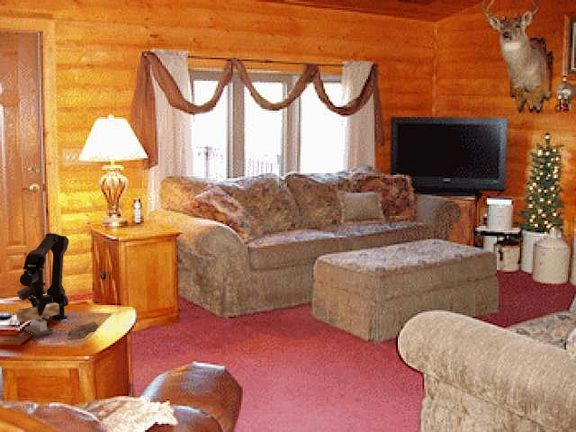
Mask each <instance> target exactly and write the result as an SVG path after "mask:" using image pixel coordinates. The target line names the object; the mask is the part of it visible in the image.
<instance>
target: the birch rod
mask: <svg viewBox="0 0 576 432" xmlns="http://www.w3.org/2000/svg"><path fill="white" fill-rule="evenodd" d="M15 312H16V320H17V322H19V323H23V322H28V321H30V320H33V319H38V318H42V319H43V318H47V317H48V318H49V316H53V315H58V314H59V304H57V303H51V304H47V305H46V307H45V309H44V311H43V313H42V315H41V316H39V314H38V308H37V306H35V307H32V306H30V307H25V308H20V309H17V310H15Z"/></svg>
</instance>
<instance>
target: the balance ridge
mask: <svg viewBox="0 0 576 432" xmlns="http://www.w3.org/2000/svg"><path fill="white" fill-rule="evenodd" d="M29 321H30V325H28V326H24V327H25V329H24V331H25V330H26V331H25V332H27V331H28V332H30V333H32V334H33V335H32V334H31V335H32V336H34V337H35V338H37V337H42V336H47V335H52V334H54V329H52V328H51V327H49V326H47V323H48V321H47V320H46V319H45V318H44V319H43V318H38V319H33V320H29ZM28 332H27V333H28ZM30 333H29V334H30Z"/></svg>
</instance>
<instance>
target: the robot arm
mask: <svg viewBox="0 0 576 432" xmlns="http://www.w3.org/2000/svg"><path fill="white" fill-rule="evenodd" d="M69 243H70V241H69V238H68V237H67V236H66V235H61V234H59V233H53V232H52V233H51V232H48V233H46V234H45V235H44V238H43V239H42V241H41V242H40V243H39V245H38V246H37V247H36V248H35V249H32V250H30V251H29V252H28V254H27V255H26V257H25V260H24V264H23V268H22V270H23V274H21V275H20V277H19V282H20V284H21V286H23V287H24V288H22V289H20V290H18V291H17V292H16V294H17V297H18V298H19V300H21V301H26V300H27V301H29V302H30V304H31V307H35V306H37V308H38V314H39V316H41V315H42V313H43V311H44V309H45V307H46V305H47V304H51V303H57V304H59V314H58V315H53V316H48V318H50V319H52V320H54V321H57V320H63V319H66V318H68V315H66V314H65V313H66V312H65V307H67V306H68V305H69V298H68V296H67V295H66V289H65V288H64V286H63V274H64V272H63V270H64V254H65V253H66V252H67V251H68V246H69ZM49 251H51V252H50V253H52V266H51V282H50V283H51V284H50V286H49V287H47V289H46V291H45V286H46V282H44V269H45V263H46V261H47V257H46V256H47V254H48V253H49Z"/></svg>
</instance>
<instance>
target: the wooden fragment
mask: <svg viewBox="0 0 576 432" xmlns="http://www.w3.org/2000/svg"><path fill="white" fill-rule="evenodd" d="M98 328H100V326H99V325H98V324H97V322H96V321H92V322H89V323H88V322H87V323H85V324H83V325H79V326H77V327H75V328H72V329H70V330H69V331H68V337H67V340H79V339H86V336H87V335H89V334H90V333H92V332H96V331H97V329H98Z"/></svg>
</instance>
